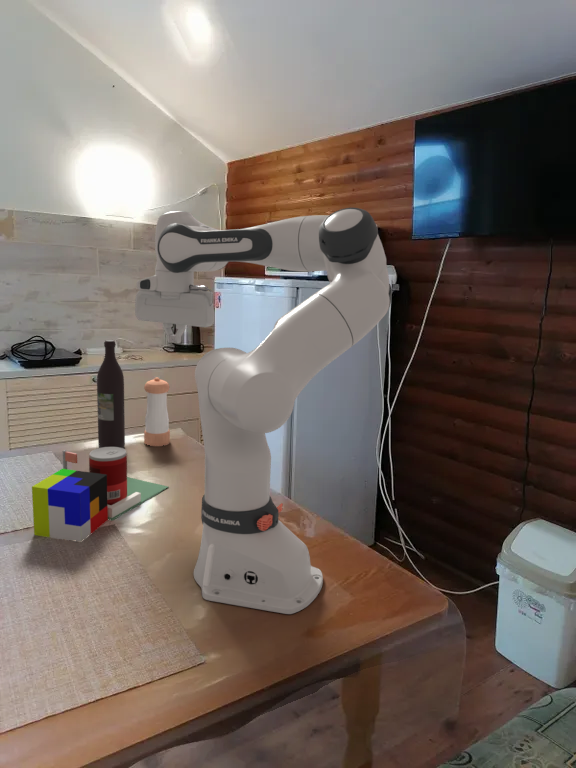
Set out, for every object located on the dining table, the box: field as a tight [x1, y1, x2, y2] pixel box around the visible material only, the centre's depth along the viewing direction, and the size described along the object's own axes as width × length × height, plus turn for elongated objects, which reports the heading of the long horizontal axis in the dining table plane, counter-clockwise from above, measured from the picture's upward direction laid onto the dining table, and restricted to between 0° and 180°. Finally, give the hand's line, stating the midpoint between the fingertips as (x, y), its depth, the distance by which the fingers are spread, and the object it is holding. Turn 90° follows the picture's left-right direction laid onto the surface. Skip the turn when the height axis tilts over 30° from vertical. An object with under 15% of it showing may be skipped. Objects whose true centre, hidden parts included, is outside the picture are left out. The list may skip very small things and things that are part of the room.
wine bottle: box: [96, 339, 126, 449], centre depth 162 cm, size 7×7×30 cm
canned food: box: [88, 447, 128, 505], centre depth 130 cm, size 8×8×11 cm
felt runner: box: [107, 476, 169, 521], centre depth 133 cm, size 14×20×1 cm
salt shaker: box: [143, 376, 171, 447], centre depth 169 cm, size 7×7×19 cm
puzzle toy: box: [31, 468, 109, 542], centre depth 117 cm, size 10×10×10 cm
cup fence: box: [62, 449, 141, 518], centre depth 128 cm, size 13×9×12 cm
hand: (174, 342), depth 141 cm, fingers closed
